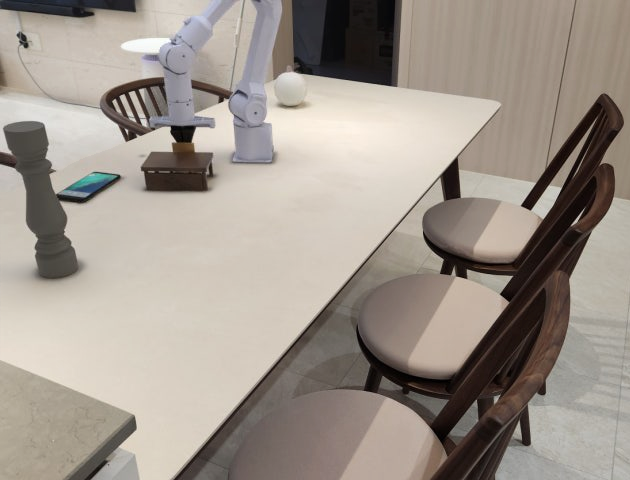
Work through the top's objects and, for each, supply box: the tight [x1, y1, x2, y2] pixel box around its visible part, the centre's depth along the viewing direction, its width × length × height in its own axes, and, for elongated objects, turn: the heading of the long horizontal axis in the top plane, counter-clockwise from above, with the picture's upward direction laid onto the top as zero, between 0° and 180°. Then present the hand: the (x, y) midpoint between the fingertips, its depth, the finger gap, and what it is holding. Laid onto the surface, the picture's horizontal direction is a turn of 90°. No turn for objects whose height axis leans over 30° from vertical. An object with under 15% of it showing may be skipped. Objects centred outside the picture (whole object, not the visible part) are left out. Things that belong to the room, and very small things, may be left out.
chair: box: [169, 141, 197, 173], centre depth 146 cm, size 5×6×7 cm
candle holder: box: [2, 120, 79, 279], centre depth 103 cm, size 6×6×25 cm
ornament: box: [273, 65, 308, 107], centre depth 199 cm, size 10×10×12 cm
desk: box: [140, 151, 214, 192], centre depth 143 cm, size 14×10×6 cm
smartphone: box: [55, 171, 122, 203], centre depth 139 cm, size 7×1×15 cm
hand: (186, 156), depth 150 cm, fingers closed, pressing on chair
